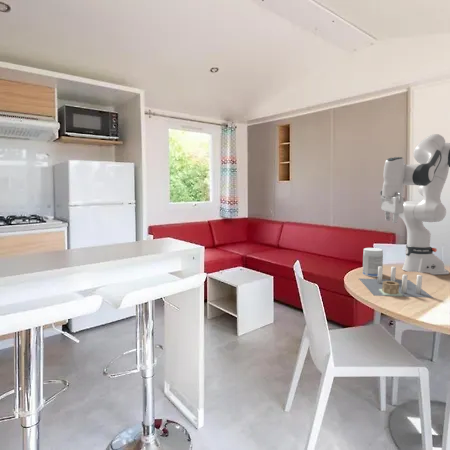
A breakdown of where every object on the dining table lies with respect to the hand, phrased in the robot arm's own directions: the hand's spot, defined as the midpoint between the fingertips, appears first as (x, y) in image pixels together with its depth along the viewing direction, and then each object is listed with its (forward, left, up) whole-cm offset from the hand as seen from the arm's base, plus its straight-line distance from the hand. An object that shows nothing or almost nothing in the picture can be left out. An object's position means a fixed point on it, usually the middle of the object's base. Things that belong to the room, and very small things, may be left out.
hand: (391, 221), depth 160 cm
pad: (+4, +16, -30) cm, 34 cm away
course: (0, +7, -31) cm, 32 cm away
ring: (+4, +16, -29) cm, 34 cm away
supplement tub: (+3, -15, -31) cm, 35 cm away
